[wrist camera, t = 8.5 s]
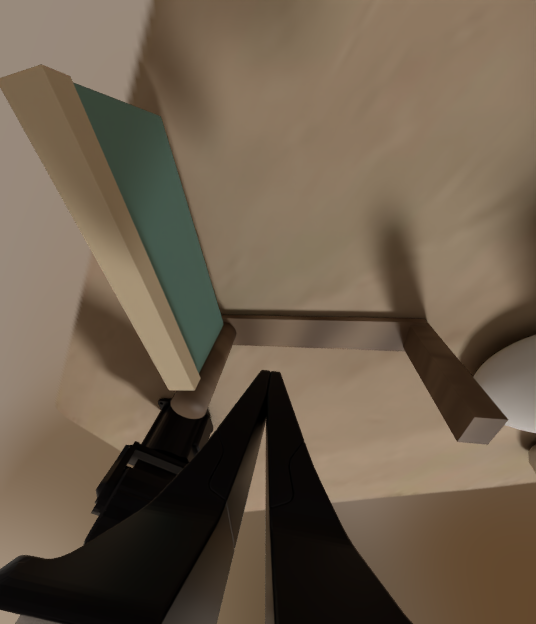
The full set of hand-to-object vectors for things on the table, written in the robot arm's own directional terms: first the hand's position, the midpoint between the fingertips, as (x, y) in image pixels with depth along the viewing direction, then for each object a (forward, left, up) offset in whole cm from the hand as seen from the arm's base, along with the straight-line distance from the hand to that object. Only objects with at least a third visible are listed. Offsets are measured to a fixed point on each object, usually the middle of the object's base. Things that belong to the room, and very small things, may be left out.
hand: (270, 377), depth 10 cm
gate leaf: (-7, +4, -9) cm, 12 cm away
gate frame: (+3, -5, -11) cm, 12 cm away
